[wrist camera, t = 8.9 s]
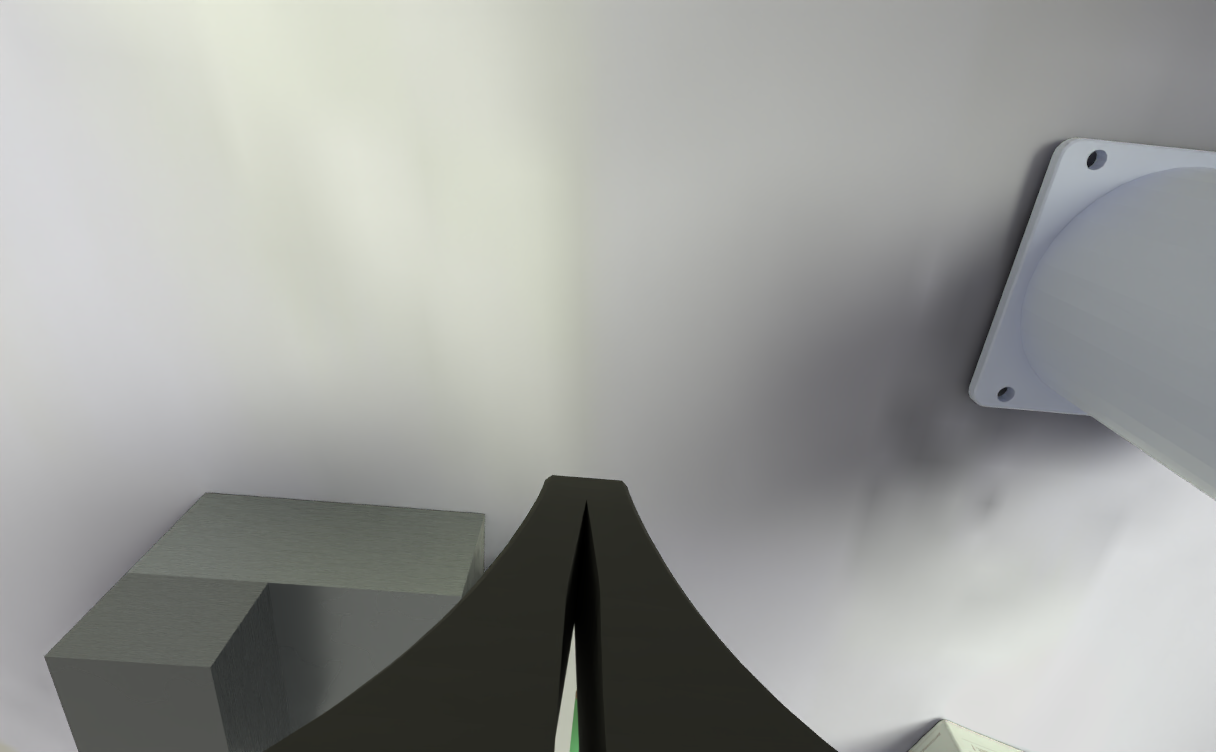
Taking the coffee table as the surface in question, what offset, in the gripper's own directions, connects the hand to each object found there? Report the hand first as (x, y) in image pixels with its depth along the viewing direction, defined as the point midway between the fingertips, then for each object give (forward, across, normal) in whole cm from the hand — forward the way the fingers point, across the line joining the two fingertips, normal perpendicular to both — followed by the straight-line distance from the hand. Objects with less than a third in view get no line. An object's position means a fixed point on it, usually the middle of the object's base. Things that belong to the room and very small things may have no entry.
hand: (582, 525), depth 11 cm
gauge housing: (+9, +8, +11) cm, 17 cm away
